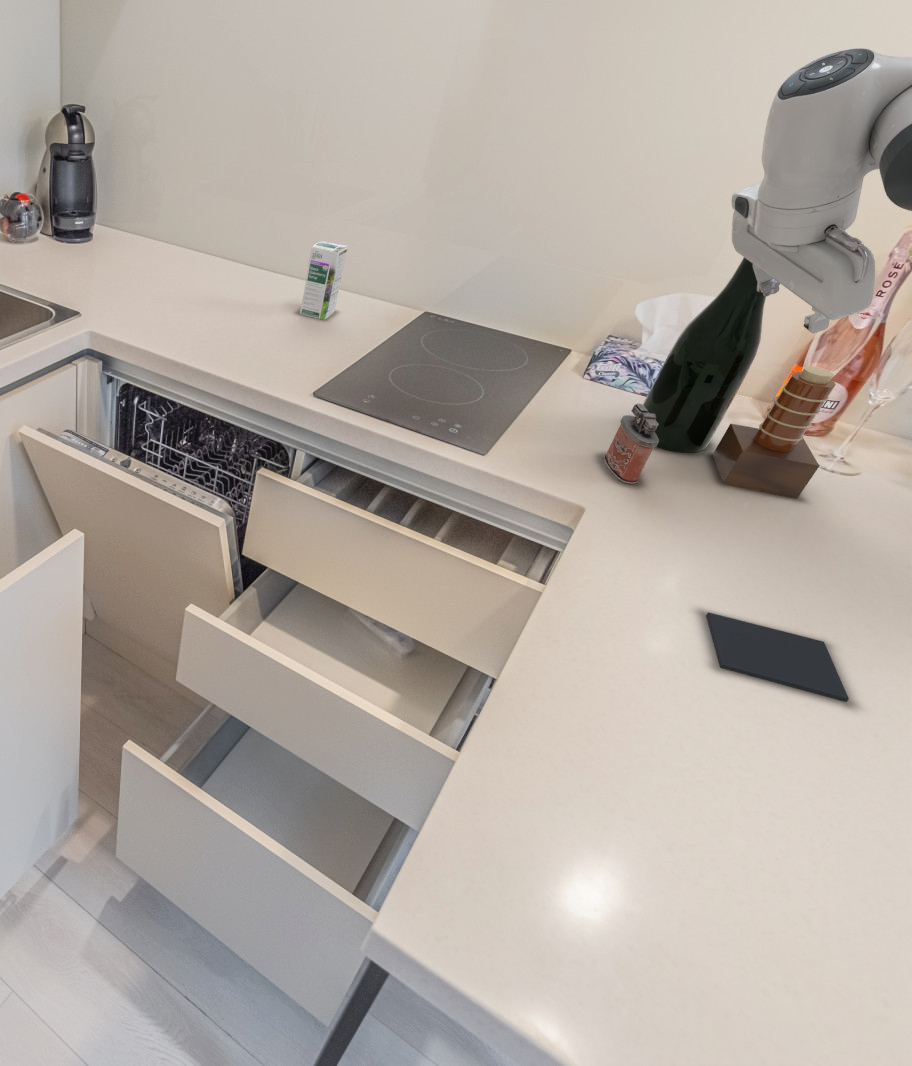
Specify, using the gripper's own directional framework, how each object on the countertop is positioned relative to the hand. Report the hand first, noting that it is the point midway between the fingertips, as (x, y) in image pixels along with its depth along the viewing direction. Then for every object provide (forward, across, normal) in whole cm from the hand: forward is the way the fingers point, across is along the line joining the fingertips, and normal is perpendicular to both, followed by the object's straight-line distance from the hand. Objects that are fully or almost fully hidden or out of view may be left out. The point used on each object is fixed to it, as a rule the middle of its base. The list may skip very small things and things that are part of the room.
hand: (790, 310), depth 96 cm
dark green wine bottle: (+26, +9, +10) cm, 29 cm away
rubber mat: (+12, -39, +22) cm, 46 cm away
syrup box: (+11, +59, +53) cm, 80 cm away
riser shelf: (+27, -2, +4) cm, 27 cm away
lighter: (+18, -2, +21) cm, 28 cm away
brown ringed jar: (+22, -2, +1) cm, 22 cm away
